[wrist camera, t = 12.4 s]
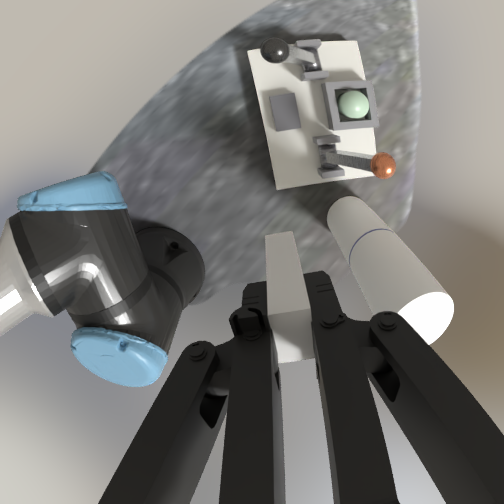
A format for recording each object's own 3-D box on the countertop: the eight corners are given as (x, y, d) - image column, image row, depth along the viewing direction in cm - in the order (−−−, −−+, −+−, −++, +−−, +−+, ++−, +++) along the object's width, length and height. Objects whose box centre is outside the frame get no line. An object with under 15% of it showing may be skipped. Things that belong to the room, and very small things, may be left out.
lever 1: (306, 73, 30) (258, 66, 22) (301, 53, 29) (251, 39, 20) (326, 70, 29) (285, 59, 20) (321, 49, 28) (278, 31, 19)
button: (338, 118, 33) (344, 119, 30) (333, 93, 31) (339, 91, 28) (362, 116, 32) (371, 117, 30) (358, 91, 31) (366, 90, 28)
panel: (275, 185, 40) (278, 196, 35) (247, 54, 31) (245, 45, 26) (371, 171, 39) (386, 180, 34) (351, 44, 29) (364, 35, 24)
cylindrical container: (334, 191, 40) (409, 286, 18) (374, 202, 41) (466, 296, 19) (321, 233, 44) (371, 352, 22) (360, 242, 44) (428, 354, 22)
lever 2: (316, 167, 35) (384, 184, 25) (312, 145, 34) (382, 154, 23) (332, 163, 36) (401, 179, 25) (329, 142, 35) (400, 151, 24)
